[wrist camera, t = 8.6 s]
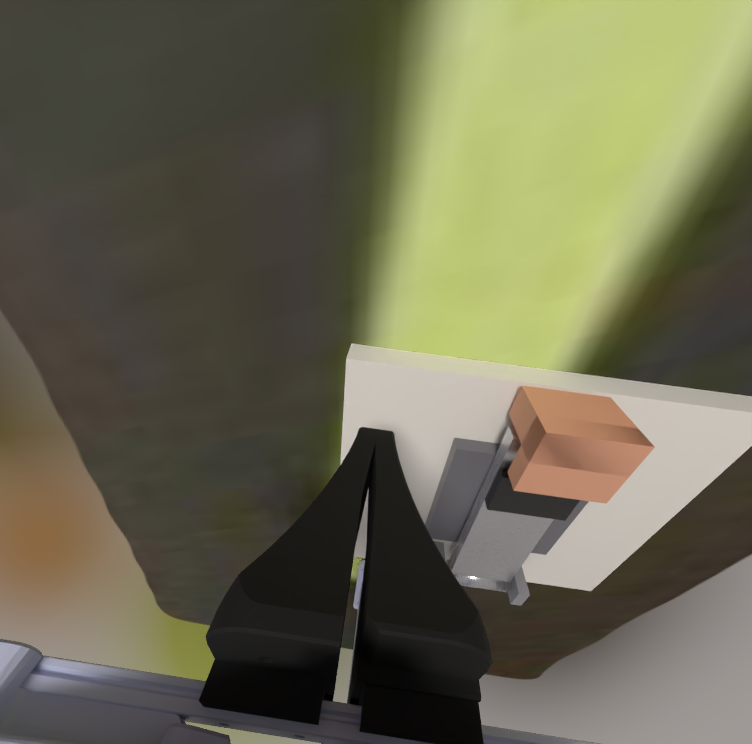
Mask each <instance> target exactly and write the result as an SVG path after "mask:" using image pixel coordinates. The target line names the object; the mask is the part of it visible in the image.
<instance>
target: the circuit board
mask: <svg viewBox="0 0 752 744" xmlns="http://www.w3.org/2000/svg"><path fill="white" fill-rule="evenodd" d="M521 385H522V386H530V387H537V388H545V389H552V390H560V391H567V392H575V393H582V394H590V395H597V396H605V397H611V398H612V400H613V401H614V402H615V403H616V404H617V405H618V406H619V407H620V408H621V410H622V411H623V412H624V413H625V414H626V415H627V416H628V417H629V419H630V420H631V421H632V422H633V423H634V424H635V425H636V426H637V428H638V429H639V430H640V431H641V432H642V433H643V434H644V435H645V437H646V438H647V439H648V440H649V441H650V442H651V443H652V444H653V445H654V447H655V448H654V449H653V450H652V451H651V452H650V454H649V455H648V456H647V457H646V458H645V459H644V461H643V462H642V463H641V464H640V465H639V466H638V467H637V469H636V470H635V471H634V472H633V473H632V474H631V476H630V477H629V478H628V479H627V480H626V481H625V483H624V484H623V485H622V486H621V487H620V488H619V490H618V491H617V492H616V493H615V494H614V495H613V497H612V498H611V499H610V500H609V501H608V502H607V503H606V504H605V503H598V502H591V501H584V500H580V501H579V503H578V504H577V505H576V507H575V508H574V510H573V511H572V512H571V514H570V515H569V516H568V518H567V519H566V520H565V521H564V520H557V519H554V520H553V521H552V523H551V524H550V526H549V527H548V529H547V530H546V531H545V533H544V534H543V536H542V537H541V539H540V540H539V541H538V543H537V544H536V546H535V547H534V549H533V550H532V552H531V553H530V554H529V556H528V557H527V559H526V560H525V562H524V563H523V564H522V566H521V567H520V569H519V570H518V572H517V573H516V574H515V576H514V577H513V579H512V580H511V582H510V589H509V591H508V595H509V600H510V604H514V605H520V606H521V605H522V604H523V603H524V602H525V600H526V599H527V598H528V597H529V596H530V594H529V590H528V587H527V583H526V582H532V583H539V584H546V585H553V586H560V587H566V588H573V589H580V590H587V591H592V590H593V589H594V588H595V587H596V586H597V585H598V584H599V583H600V582H602V581H603V580H604V579H605V578H606V577H607V576H608V575H609V574H610V573H612V572H613V571H614V570H615V569H616V568H617V567H618V566H619V565H620V564H621V563H623V562H624V561H625V560H626V559H627V558H628V557H629V556H630V555H631V554H633V553H634V552H635V551H636V550H637V549H638V548H639V547H640V546H641V545H642V544H644V543H645V542H646V541H647V540H648V539H649V538H650V537H651V536H652V535H654V534H655V533H656V532H657V531H658V530H659V529H660V528H661V527H662V526H663V525H665V524H666V523H667V522H668V521H669V520H670V519H671V518H672V517H673V516H675V515H676V514H677V513H678V512H679V511H680V510H681V509H682V508H683V507H684V506H686V505H687V504H688V503H689V502H690V501H691V500H692V499H693V498H694V497H696V496H697V495H698V494H699V493H700V492H701V491H702V490H703V489H704V488H705V487H707V486H708V485H709V484H710V483H711V482H712V481H713V480H714V479H715V478H717V477H718V476H719V475H720V474H721V473H722V472H723V471H724V470H725V469H726V468H728V467H729V466H730V465H731V464H732V463H733V462H734V461H735V460H736V459H738V458H739V457H740V456H741V455H742V454H743V453H744V452H745V451H746V450H747V449H749V448H750V447H751V446H752V396H744V395H737V394H729V393H722V392H714V391H707V390H699V389H692V388H684V387H676V386H669V385H661V384H654V383H646V382H639V381H631V380H624V379H616V378H608V377H601V376H593V375H586V374H578V373H571V372H563V371H556V370H548V369H541V368H533V367H525V366H518V365H510V364H503V363H495V362H488V361H480V360H473V359H465V358H457V357H450V356H442V355H435V354H427V353H420V352H412V351H405V350H397V349H389V348H382V347H374V346H367V345H359V344H352V343H351V346H350V349H349V352H348V355H347V358H346V376H345V393H344V411H343V429H342V446H341V464H342V462H343V460H344V459H345V457H346V455H347V454H348V452H349V450H350V448H351V446H352V444H353V442H354V440H355V438H356V436H357V433H358V430H359V428H361V427H367V428H374V429H381V430H388V431H392V432H393V433H394V435H395V443H396V448H397V452H398V456H399V460H400V464H401V467H402V470H403V473H404V476H405V479H406V482H407V485H408V488H409V490H410V493H411V495H412V498H413V500H414V503H415V505H416V507H417V509H418V512H419V514H420V516H421V518H422V520H423V522H424V524H425V526H426V528H427V530H428V532H429V534H430V536H431V538H432V539H433V541H434V543H435V544H436V546H437V548H438V550H439V551H440V553H441V555H442V557H443V558H444V560H445V562H446V561H447V559H448V560H449V559H450V557H451V555H452V552H453V550H454V548H455V546H456V543H457V541H458V539H459V537H460V534H461V532H462V530H463V528H464V525H465V523H466V521H467V519H468V516H469V514H470V512H471V510H472V507H473V505H474V503H475V500H476V498H477V496H478V494H479V491H480V489H481V487H482V485H483V482H484V480H485V478H486V476H487V473H488V471H489V469H490V467H491V464H492V462H493V460H494V458H495V455H496V453H497V451H498V448H499V446H500V444H501V442H502V439H503V437H504V435H505V433H506V430H507V428H508V426H514V425H513V423H512V420H511V418H510V416H509V412H510V410H511V408H512V406H513V403H514V401H515V399H516V397H517V394H518V392H519V390H520V388H521ZM341 464H340V465H341ZM368 490H369V488H368ZM367 516H368V492H367V497H366V501H365V506H364V510H363V514H362V519H361V523H360V528H359V532H358V536H357V541H356V546H355V551H354V557H360V558H365V556H366V543H367Z"/></svg>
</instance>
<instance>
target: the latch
mask: <svg viewBox="0 0 752 744" xmlns="http://www.w3.org/2000/svg"><path fill="white" fill-rule="evenodd" d="M509 416H510V418H511V420H512V423H513V425H514V428H515V430H516V432H517V435H518V437H519V440H520V442H521V446H520V448H519V450H518V452H517V454H516V456H515V458H514V460H513V462H512V464H511V466H510V468H509V470H508V475H509V478H510V481H511V484H512V488H513V491H520V492H527V493H534V494H541V495H548V496H555V497H562V498H570V499H577V500H584V501H591V502H598V503H605V504H606V503H607V502H608V501H609V500H610V499H611V498H612V497H613V495H614V494H615V493H616V492H617V491H618V490H619V488H620V487H621V486H622V485H623V484H624V483H625V481H626V480H627V479H628V478H629V477H630V476H631V474H632V473H633V472H634V471H635V470H636V469H637V467H638V466H639V465H640V464H641V463H642V462H643V461H644V459H645V458H646V457H647V456H648V455H649V454H650V452H651V451H652V450H653V449H654V448H655V447H654V445H653V444H652V443H651V442H650V441H649V440H648V439H647V438H646V437H645V435H644V434H643V433H642V432H641V431H640V430H639V429H638V428H637V426H636V425H635V424H634V423H633V422H632V421H631V420H630V419H629V417H628V416H627V415H626V414H625V413H624V412H623V411H622V410H621V408H620V407H619V406H618V405H617V404H616V403H615V402H614V401H613V400H612V398H611V397H605V396H597V395H590V394H582V393H575V392H567V391H560V390H552V389H545V388H537V387H530V386H522V385H521V388H520V390H519V392H518V394H517V397H516V399H515V401H514V403H513V406H512V408H511V410H510V412H509Z"/></svg>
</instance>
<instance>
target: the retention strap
mask: <svg viewBox="0 0 752 744" xmlns="http://www.w3.org/2000/svg"><path fill="white" fill-rule="evenodd" d="M520 446H521V442H520V440H519V437H518V435H517V432H516V430H515V428H514V426H508V428H507V430H506V433H505V435H504V437H503V439H502V442H501V444H500V446H499V448H498V451H497V453H496V455H495V458H494V460H493V462H492V464H491V467H490V469H489V471H488V473H487V476H486V478H485V480H484V482H483V485H482V487H481V489H480V491H479V494H478V496H477V498H476V500H475V503H474V505H473V507H472V510H471V512H470V514H469V516H468V519H467V521H466V523H465V525H464V528H463V530H462V532H461V534H460V537H459V539H458V541H457V543H456V546H455V548H454V550H453V552H452V555H451V557H450V559H449V560H448V559H447V561H446V563H447V565H448V567H449V568H450V570H451V571H452V573H453V574H454V576H455V577H456V579H457V581H458V582H459V583H460V585H461V586H468V587H475V588H482V589H488V590H495V591H502V592H508V591H509V589H510V582H511V580H512V579H513V577H514V576H515V574H516V573H517V572H518V570H519V569H520V567H521V566H522V564H523V563H524V562H525V560H526V559H527V557H528V556H529V554H530V553H531V552H532V550H533V549H534V547H535V546H536V544H537V543H538V541H539V540H540V539H541V537H542V536H543V534H544V533H545V531H546V530H547V529H548V527H549V526H550V524H551V523H552V521H553V520H554V519H557V520H564V521H565V520H566V519H567V518H568V516H569V515H570V514H571V512H572V511H573V510H574V508H575V507H576V505H577V504H578V503H579V501H580V500H577V499H570V498H562V497H555V496H548V495H541V494H534V493H527V492H520V491H513V488H512V484H511V481H510V478H509V475H508V470H509V468H510V466H511V464H512V462H513V460H514V458H515V456H516V454H517V452H518V450H519V448H520Z"/></svg>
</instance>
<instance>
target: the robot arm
mask: <svg viewBox="0 0 752 744" xmlns="http://www.w3.org/2000/svg"><path fill="white" fill-rule="evenodd" d="M368 488H369V490H368ZM367 492H368V516H367V543H366V556H365V560H362V561H360V563H359V570H358V577H357V584H356V590H355V597H354V604H353V607H354V608H355V609H358V613H357V621H356V630H355V639H354V647H353V656H352V665H351V674H350V683H349V691H348V699H347V704H346V703H340V702H333V695H334V690H335V683H336V676H337V669H338V661H339V655H340V648H341V641H342V634H343V627H344V620H345V613H346V606H347V599H348V592H349V585H350V578H351V571H352V564H353V557H354V551H355V546H356V541H357V536H358V532H359V528H360V523H361V519H362V514H363V510H364V506H365V501H366V497H367ZM206 640H207V644H208V646H209V648H210V650H211V652H212V654H213V656H214V658H215V661H214V663H213V666H212V668H211V671H210V673H209V676H208V678H207V680H206V681H200V680H194V679H188V678H182V677H176V676H169V675H162V674H157V673H150V672H144V671H138V670H130V669H125V668H118V667H113V666H106V665H100V664H94V663H87V662H81V661H75V660H68V659H62V658H56V657H49V656H43V655H42V653H41V652H40V651H39V650H38V649H36V648H35V647H33V646H31V645H28V644H25V643H21V642H16V641H9V640H3V639H0V744H231V743H230V738H229V735H225V734H221V733H218V732H214V731H210V730H207V729H203V728H199V727H195V726H192V725H187V724H186V723H185V721H187V722H193V723H200V724H206V725H212V726H218V727H224V728H231V729H237V730H243V731H250V732H256V733H262V734H268V735H274V736H281V737H287V738H293V739H300V740H306V741H312V742H318V743H321V744H599V743H592V742H585V741H579V740H573V739H566V738H560V737H555V736H548V735H542V734H536V733H529V732H523V731H516V730H510V729H503V728H498V727H491V726H485V725H481V719H480V712H479V704H478V702H480V701H481V692H480V686H479V679H480V678H481V677H482V676H483V675H484V674H485V673H486V672H487V671H488V670H489V668H490V666H491V664H492V658H491V650H490V646H489V642H488V638H487V634H486V631H485V628H484V625H483V622H482V619H481V616H480V613H479V611H478V609H477V608H476V606H475V605H474V604H473V602H472V601H471V599H470V598H469V597H468V595H467V594H466V592H465V591H464V589H463V588H462V586H461V585H460V583H459V582H458V581H457V579H456V577H455V576H454V574H453V573H452V571H451V570H450V568H449V567H448V565H447V563H446V562H445V560H444V558H443V557H442V555H441V553H440V551H439V550H438V548H437V546H436V544H435V543H434V541H433V539H432V538H431V536H430V534H429V532H428V530H427V528H426V526H425V524H424V522H423V520H422V518H421V516H420V514H419V512H418V509H417V507H416V505H415V503H414V500H413V498H412V495H411V493H410V490H409V488H408V485H407V482H406V479H405V476H404V473H403V470H402V467H401V464H400V460H399V456H398V452H397V448H396V443H395V435H394V433H393V432H392V431H388V430H381V429H374V428H367V427H361V428H359V430H358V433H357V436H356V438H355V440H354V442H353V444H352V446H351V448H350V450H349V452H348V454H347V455H346V457H345V459H344V460H343V462H342V464H341V465H340V467H339V468H338V470H337V471H336V473H335V474H334V476H333V477H332V478H331V480H330V481H329V483H328V484H327V486H326V487H325V488H324V489H323V491H322V492H321V493H320V495H319V496H318V497H317V498H316V500H315V501H314V502H313V503H312V504H311V506H310V507H309V508H308V509H307V510H306V511H305V512H304V513H303V515H302V516H301V517H300V518H299V519H298V520H297V521H296V522H295V523H294V524H293V525H292V526H291V527H290V528H289V529H288V530H287V531H286V532H285V533H284V534H283V535H282V536H281V537H280V538H279V539H278V540H277V541H276V542H275V543H274V544H273V545H272V546H271V547H270V548H269V549H267V550H266V551H265V552H264V553H263V554H262V555H261V556H259V557H258V558H257V559H256V560H255V561H254V562H252V563H251V564H250V565H249V566H248V567H247V568H245V569H244V570H243V571H242V572H241V573H240V574H239V575H238V577H237V578H236V579H235V581H234V582H233V584H232V585H231V587H230V588H229V590H228V592H227V593H226V595H225V597H224V598H223V600H222V602H221V604H220V605H219V607H218V609H217V611H216V614H215V616H214V618H213V621H212V623H211V625H210V628H209V630H208V632H207V635H206Z"/></svg>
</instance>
